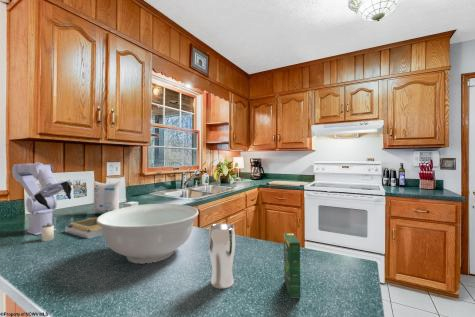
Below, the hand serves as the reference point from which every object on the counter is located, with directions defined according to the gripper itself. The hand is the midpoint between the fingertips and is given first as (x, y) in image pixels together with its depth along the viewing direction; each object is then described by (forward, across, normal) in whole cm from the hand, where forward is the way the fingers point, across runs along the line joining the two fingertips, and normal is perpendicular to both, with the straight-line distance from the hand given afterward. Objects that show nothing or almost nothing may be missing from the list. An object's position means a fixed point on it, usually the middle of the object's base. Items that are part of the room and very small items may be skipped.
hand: (58, 202), depth 98 cm
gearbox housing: (+6, +5, +19) cm, 21 cm away
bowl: (+46, +16, -3) cm, 48 cm away
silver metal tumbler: (+72, +25, -18) cm, 79 cm away
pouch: (-16, +14, +42) cm, 47 cm away
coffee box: (+86, +36, -22) cm, 96 cm away
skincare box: (+15, +18, +22) cm, 32 cm away
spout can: (+4, -10, +12) cm, 16 cm away
